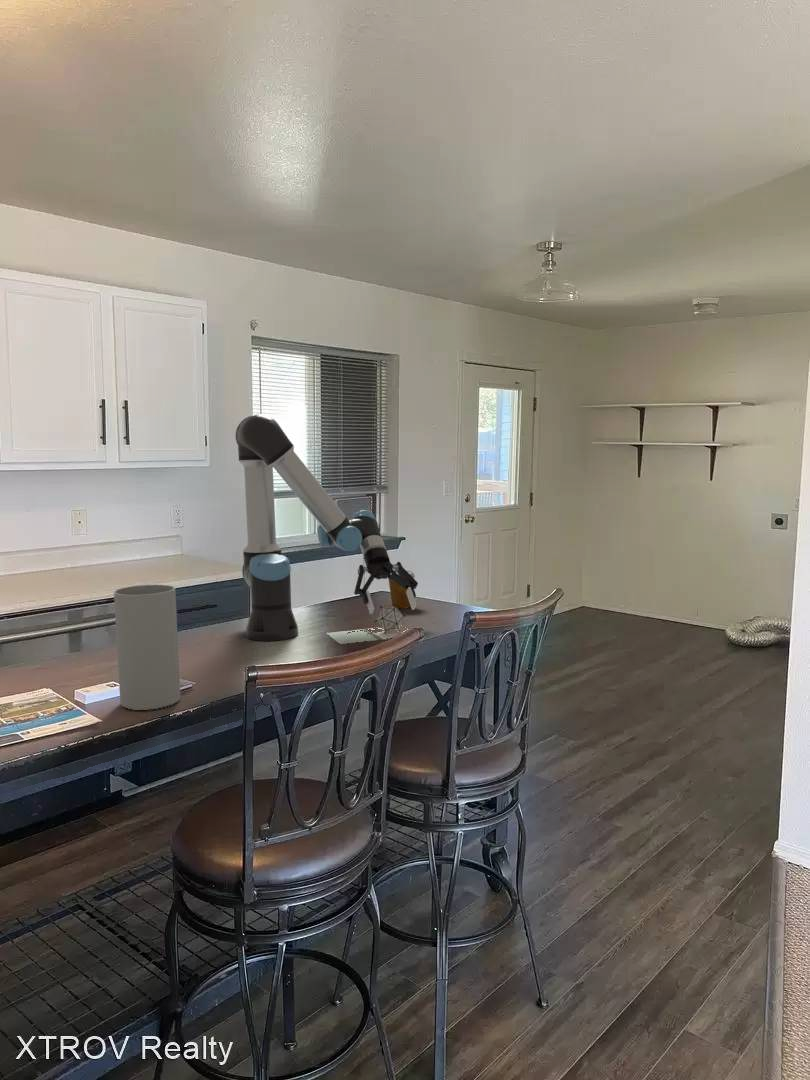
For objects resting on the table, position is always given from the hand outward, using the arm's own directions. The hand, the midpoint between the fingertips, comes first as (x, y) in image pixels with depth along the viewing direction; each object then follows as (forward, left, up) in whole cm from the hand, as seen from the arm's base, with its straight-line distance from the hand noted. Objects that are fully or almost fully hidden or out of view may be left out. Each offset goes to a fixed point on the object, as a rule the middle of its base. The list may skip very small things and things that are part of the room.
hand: (393, 609), depth 233 cm
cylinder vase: (-73, -40, -7) cm, 83 cm away
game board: (-8, -2, -7) cm, 10 cm away
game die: (-2, -1, -7) cm, 7 cm away
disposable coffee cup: (+15, +32, -7) cm, 36 cm away
